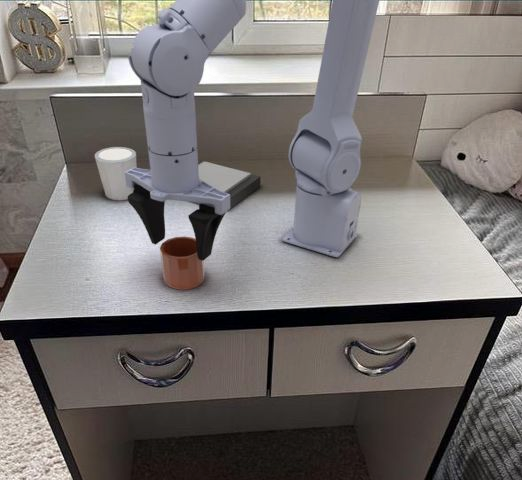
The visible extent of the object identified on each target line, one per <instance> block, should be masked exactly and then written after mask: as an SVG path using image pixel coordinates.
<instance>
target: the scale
mask: <svg viewBox="0 0 522 480" xmlns="http://www.w3.org/2000/svg"><path fill="white" fill-rule="evenodd" d="M198 170H199V179H201V180H202V181H204V182H206V183H208V184H209V185H211V186H213V187H214V188H216V189H218V190H220V191H222V192H225V193H228V194H230V209H229V210H228V211H230V210H231V209H233V208H234V207H235V206H236V205H238V204H239V203H240V202H242V201H243V200H244V199H247V197H249V196H250V195H252V194H253V193H254V192H256V191H257V190H258V189H260V187H261V176H260V175H256V174H253V173H251V172H248V171H243V170H240V169H235V168H231V167H229V166H224V165H220V164H215V163H213V162H208V161H202V160H200V161H198Z"/></svg>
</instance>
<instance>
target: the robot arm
mask: <svg viewBox="0 0 522 480" xmlns="http://www.w3.org/2000/svg"><path fill="white" fill-rule="evenodd" d="M379 3H380V0H332V2H331V7H330V12H329V18H328V24H327V28H326V35H325V39H324V44H323V50H322V56H321V61H320V66H319V72H318V77H317V83H316V88H315V94H314V99H313V105H312V109H311V110H310V111H309V112H308V113H306V114H305V115H303V116H302V117H301V118H300V119H299V121H298V126H297V130H296V133H295V135H294V137H293V138H292V141H291V142H290V145H289V148H288V161H289V165H290V166H291V167H292V168H293V169H294V170H295V172H294V177H295V179H296V189H295V203H294V213H293V214H294V218H293V227H292V229H291V230H289V231H288V232H287V233H286V234H285V235H284V236H283V237H282V242H284V243H288V244H290V245H294V246H298V247H300V248H303V249H307V250H311V251H314V252H317V253H319V254H323V255H327V256H330V257H333V258H339V257H340V256H341V255H342V254H343V253H344V252H345V250H347V248H348V247H349V246H350V245H351V244H352V242H353V241H354V240H355V239H356V238H357V236H358V233H357V228H358V222H359V217H360V210H361V204H362V195H361V193H360V192H359V191H357V190H354V189H352V188H351V186H352V185H353V184H354V183H355V181H356V180H357V178H358V176H359V173H360V171H361V167H362V158H361V148H362V144H363V143H362V142H363V137H362V134H361V133H360V131H359V128H358V127H357V124H356V123H355V121H354V117H353V116H354V112H355V107H356V103H357V98H358V94H359V89H360V85H361V83H362V82H361V81H362V76H363V72H364V68H365V64H366V60H367V56H368V51H369V46H370V43H371V38H372V34H373V30H374V25H375V21H376V16H377V12H378V9H379V8H378V7H379ZM246 13H247V0H175V1H174V2H173V3H172V4H171V5H170V7H168V9H164V8H162V9H161V10H160V12H159V13H158V14H157V19H158V24H157V23H155V24H152V25H149V24H148V25H146V26H144V27H143V28H141V29H140V30H139V31H138V33H137V34H136V35H135V37H134V38H133V41H132V45H133V46H132V47H131V51H130V54H128V55H127V56H128V57H127V58H128V63H129V66H130V68H131V70H132V72H133V73H134V74H135V75H136V77H137V78H138V79H139V81H140V86H141V87H140V88H141V96H142V97H141V98H142V110H143V117H144V127H145V136H146V145H147V153H148V161H149V169H147V168H139V167H137V168H136V167H134V168H132V169H130V170H128V171H126V172H125V179H126V186H127V187H130V188H134V190H133V193H131V194H130V195H128V199H127V202H128V203H129V204H130V205H131V207H132V208H133V209H134V211H135V212H136V213H137V215H138V217H139V218H140V220H141V222H142V224H143V226H144V228H145V230H146V232H147V235H148V238H149V239H150V242H151V244H152V245H155V246H156V245H158V244H159V243H160V242H162V241H164V240H165V239H166V223H165V206H166V205H165V203H166V201H167V200H169V201H179V202H186V203H189V204H193V205H196V206H198V208H196V209H195V210H194V211H193V212H191V213H189V214H188V221H189V222H190V225H191V227H192V230H193V232H194V233H193V234H194V238H195V239H196V248H197V255H198V259H199V260H202V261H204V262H205V260H206V259H207V258H209V257H210V256H211V255H212V251H213V246H214V243H215V238H216V235H217V233H218V230H219V227H220V225H221V224H222V223H221V222H222V221H223V219H224V217H225V215H226V213H227V212H228V211H230V210H231V209H230V194H228V193H225V192H222V191H220V190H218V189H216V188H214V187H213V186H211V185H209V184H208V183H206V182H204V181H202V180H201V179H199V170H198V162H199V154H198V153H199V152H198V137H197V117H196V116H197V115H196V103H195V101H196V100H195V88H196V87H198V86H199V85H200V83H201V81H202V79H203V75H204V70H205V63H206V61H207V60H208V58H209V57H210V55H211V54H212V53H213V52H214V51H215V49H216V48H217V47H218V46H219V45H220V44H221V42H223V40H224V39H225V38H226V37H227V36H228V35H229V34H230V32H231V31H232V30H234V28H235V27H236V26H237V25H238V23H240V21H242V19H243V18H244V17H245V16H246ZM229 209H230V210H229Z"/></svg>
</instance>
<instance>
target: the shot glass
mask: <svg viewBox="0 0 522 480" xmlns="http://www.w3.org/2000/svg"><path fill="white" fill-rule="evenodd" d="M94 159H95V163H96V165H97V171H98V174H99V178H100V180H101V185H102V187H103V192H104V195H105V197H106V198H108V199H110V200H113V201H125V200H127V201H128V195H130V194H131V193H133V190H134V188H130V187H127V186H126V179H125V172H126V171H128V170H130V169H132V168H134V167H136V168H138V167H137V164H138V163H137V152H136V151H135V150H134V149H132V148H129V147H126V146H125V147H124V146H112V147H111V146H110V147H106V148H102V149H100V150H98V151H96V152H95V154H94Z"/></svg>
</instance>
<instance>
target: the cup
mask: <svg viewBox="0 0 522 480" xmlns="http://www.w3.org/2000/svg"><path fill="white" fill-rule="evenodd" d="M159 252H160V261H161V270H162V278H163V281H164V283H165V285H166V286H168V287H169V288H171V289H175V290H178V291H180V290H181V291H183V290H185V291H187V290H192V289H195V288H197V287H199V286H200V285H201V284H202V283H204V280H205V260H204V261H202V260H199V259H198V255H197V248H196V238H195V237H190V236H186V235H185V236H174V237H171V238H168V239H166V240H165V241H163V242H162V243H161V245H160V247H159Z"/></svg>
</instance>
